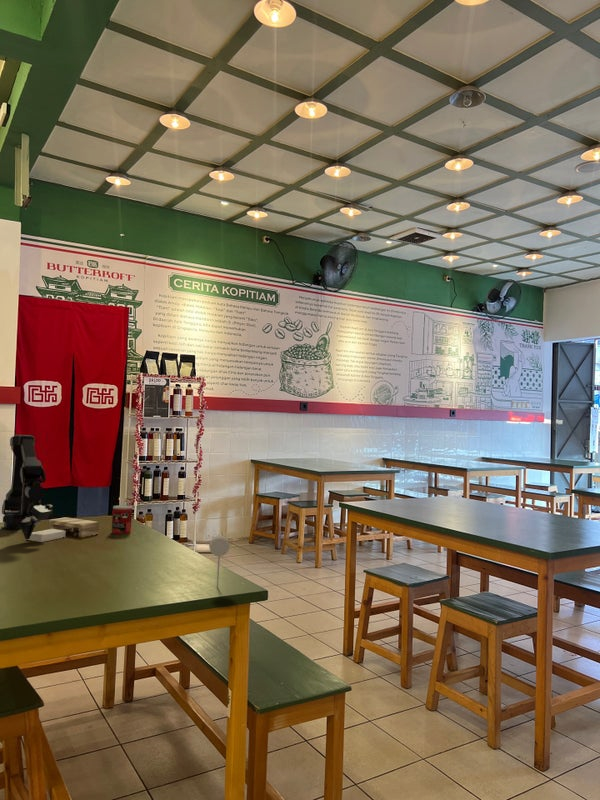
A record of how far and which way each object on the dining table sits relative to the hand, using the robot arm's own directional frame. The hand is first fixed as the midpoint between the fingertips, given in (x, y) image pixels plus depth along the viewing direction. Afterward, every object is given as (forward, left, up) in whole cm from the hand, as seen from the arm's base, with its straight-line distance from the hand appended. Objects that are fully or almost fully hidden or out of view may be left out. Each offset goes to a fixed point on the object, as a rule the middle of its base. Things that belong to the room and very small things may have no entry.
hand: (27, 539), depth 225 cm
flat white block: (0, +9, -1) cm, 9 cm away
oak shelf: (0, +23, -1) cm, 23 cm away
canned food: (+14, +36, -1) cm, 38 cm away
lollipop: (+91, -13, -1) cm, 92 cm away
